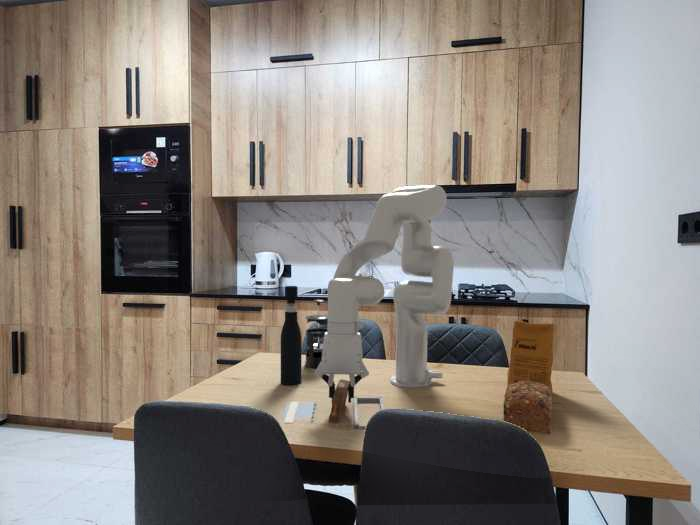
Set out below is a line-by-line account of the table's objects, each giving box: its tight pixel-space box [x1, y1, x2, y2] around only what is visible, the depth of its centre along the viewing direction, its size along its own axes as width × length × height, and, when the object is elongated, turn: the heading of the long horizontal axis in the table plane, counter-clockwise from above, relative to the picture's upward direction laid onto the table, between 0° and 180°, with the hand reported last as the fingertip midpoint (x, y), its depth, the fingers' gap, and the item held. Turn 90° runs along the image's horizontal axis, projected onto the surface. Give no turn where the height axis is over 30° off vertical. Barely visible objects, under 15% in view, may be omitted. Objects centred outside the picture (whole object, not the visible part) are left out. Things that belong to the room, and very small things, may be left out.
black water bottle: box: [280, 285, 303, 387], centre depth 145 cm, size 6×6×30 cm
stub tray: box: [353, 396, 385, 430], centre depth 118 cm, size 8×20×2 cm, turn 0°
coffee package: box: [506, 319, 555, 398], centre depth 134 cm, size 10×12×22 cm
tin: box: [328, 378, 350, 424], centre depth 119 cm, size 15×3×8 cm, turn 173°
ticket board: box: [279, 401, 318, 424], centre depth 119 cm, size 8×14×1 cm, turn 0°
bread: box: [502, 380, 553, 435], centre depth 115 cm, size 19×11×10 cm, turn 157°
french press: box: [304, 298, 328, 369], centre depth 168 cm, size 12×9×23 cm
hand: (341, 400), depth 119 cm, fingers closed on tin, 3 cm apart
